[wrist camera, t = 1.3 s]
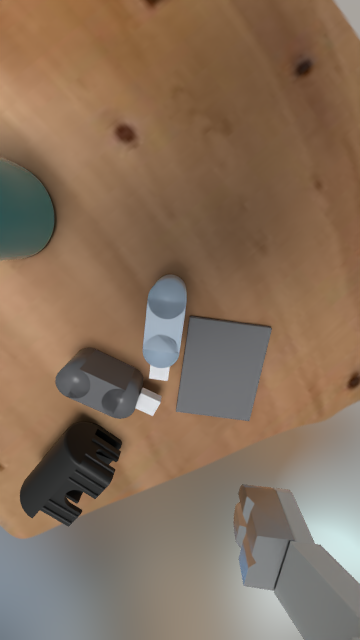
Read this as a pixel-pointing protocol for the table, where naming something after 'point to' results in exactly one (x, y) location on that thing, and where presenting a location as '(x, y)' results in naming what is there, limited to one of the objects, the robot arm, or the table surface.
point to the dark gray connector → (106, 384)
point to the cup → (23, 213)
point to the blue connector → (164, 325)
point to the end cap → (71, 472)
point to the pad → (221, 367)
